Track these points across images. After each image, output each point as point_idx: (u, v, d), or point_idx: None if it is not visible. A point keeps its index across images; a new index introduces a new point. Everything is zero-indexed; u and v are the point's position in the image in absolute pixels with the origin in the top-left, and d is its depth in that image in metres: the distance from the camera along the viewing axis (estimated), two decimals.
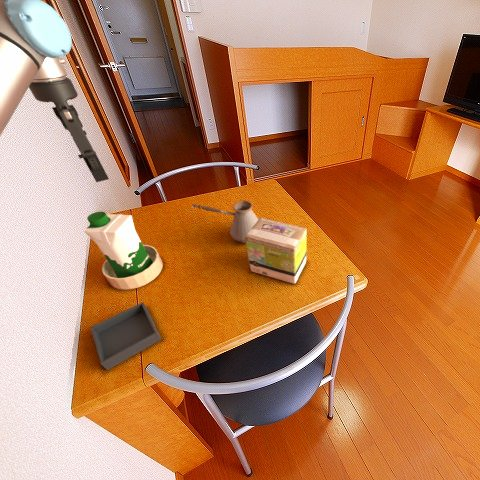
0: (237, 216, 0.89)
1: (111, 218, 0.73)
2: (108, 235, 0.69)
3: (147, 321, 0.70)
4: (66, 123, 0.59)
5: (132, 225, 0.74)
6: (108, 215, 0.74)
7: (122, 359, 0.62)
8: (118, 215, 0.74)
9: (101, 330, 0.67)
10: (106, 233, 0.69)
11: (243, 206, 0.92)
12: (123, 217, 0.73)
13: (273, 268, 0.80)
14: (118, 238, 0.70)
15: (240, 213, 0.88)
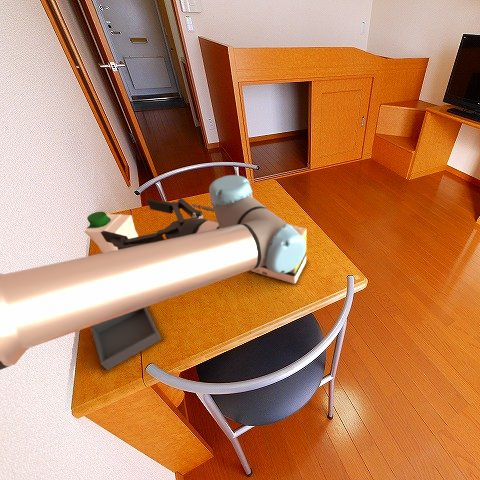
0: None
1: (111, 218, 0.73)
2: None
3: (147, 321, 0.70)
4: None
5: (132, 225, 0.74)
6: (108, 215, 0.74)
7: (122, 359, 0.62)
8: (118, 215, 0.74)
9: (101, 330, 0.67)
10: None
11: None
12: (123, 217, 0.73)
13: None
14: None
15: None
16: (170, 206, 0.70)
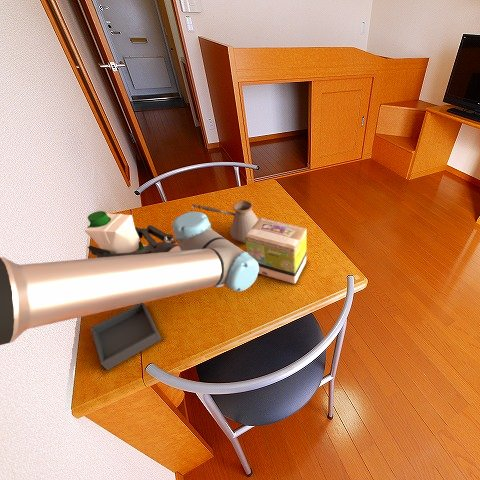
0: (237, 216, 0.89)
1: (111, 218, 0.73)
2: (108, 235, 0.69)
3: (147, 321, 0.70)
4: None
5: (132, 225, 0.74)
6: (108, 215, 0.74)
7: (122, 359, 0.62)
8: (118, 215, 0.74)
9: (101, 330, 0.67)
10: (106, 232, 0.69)
11: (243, 206, 0.92)
12: (123, 217, 0.73)
13: (273, 268, 0.80)
14: (118, 237, 0.70)
15: (240, 213, 0.88)
16: (139, 232, 0.79)
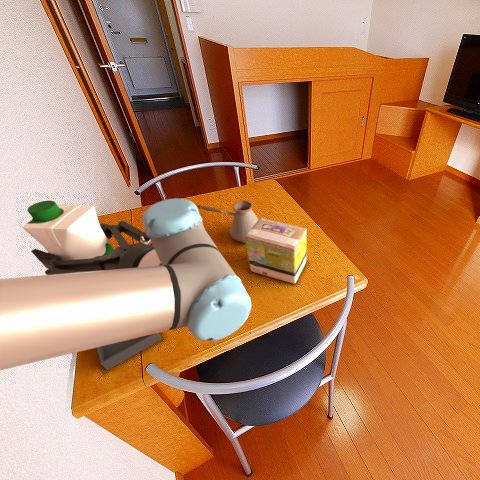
0: (237, 216, 0.89)
1: (64, 210, 0.52)
2: (57, 234, 0.49)
3: None
4: None
5: (95, 220, 0.54)
6: (61, 206, 0.53)
7: (122, 359, 0.62)
8: (75, 206, 0.53)
9: None
10: (53, 230, 0.48)
11: (243, 206, 0.92)
12: (82, 209, 0.53)
13: (273, 268, 0.80)
14: (72, 237, 0.50)
15: (240, 213, 0.88)
16: (107, 230, 0.58)
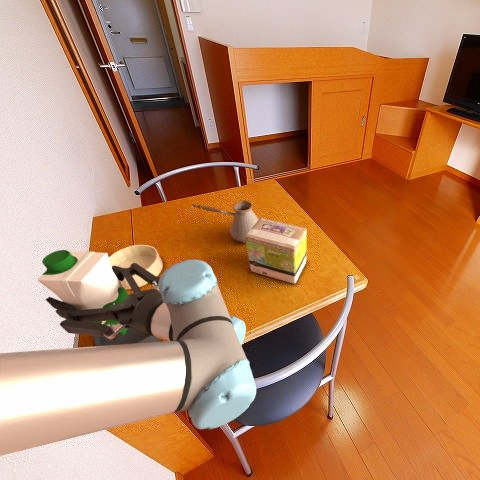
0: (237, 216, 0.89)
1: (78, 258, 0.53)
2: (72, 285, 0.49)
3: None
4: (97, 330, 0.48)
5: (108, 266, 0.54)
6: (75, 253, 0.53)
7: None
8: (89, 253, 0.53)
9: None
10: (68, 282, 0.49)
11: (243, 206, 0.92)
12: (95, 256, 0.53)
13: (273, 268, 0.80)
14: (86, 288, 0.50)
15: (240, 213, 0.88)
16: (120, 273, 0.58)
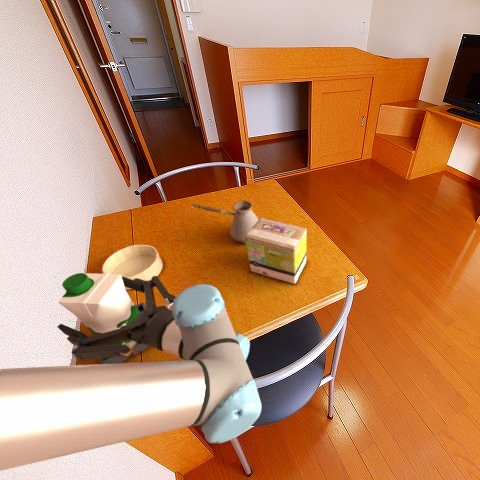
0: (237, 216, 0.89)
1: (94, 280, 0.56)
2: (89, 307, 0.53)
3: None
4: (113, 350, 0.51)
5: (122, 287, 0.58)
6: (91, 275, 0.57)
7: (122, 359, 0.62)
8: (104, 275, 0.57)
9: None
10: (86, 304, 0.53)
11: (243, 206, 0.92)
12: (110, 278, 0.57)
13: (273, 268, 0.80)
14: (103, 309, 0.54)
15: (240, 213, 0.88)
16: (142, 285, 0.63)
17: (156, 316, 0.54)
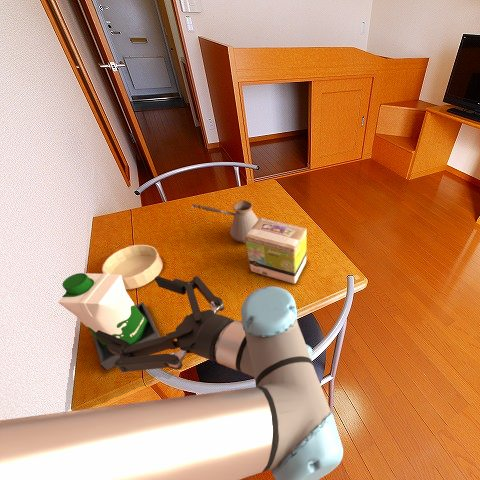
0: (237, 216, 0.89)
1: (94, 280, 0.56)
2: (89, 307, 0.53)
3: None
4: (161, 361, 0.45)
5: (122, 287, 0.58)
6: (91, 275, 0.57)
7: None
8: (104, 275, 0.57)
9: None
10: (86, 304, 0.53)
11: (243, 206, 0.92)
12: (110, 278, 0.57)
13: (273, 268, 0.80)
14: (103, 309, 0.54)
15: (240, 213, 0.88)
16: (183, 287, 0.57)
17: (207, 322, 0.47)
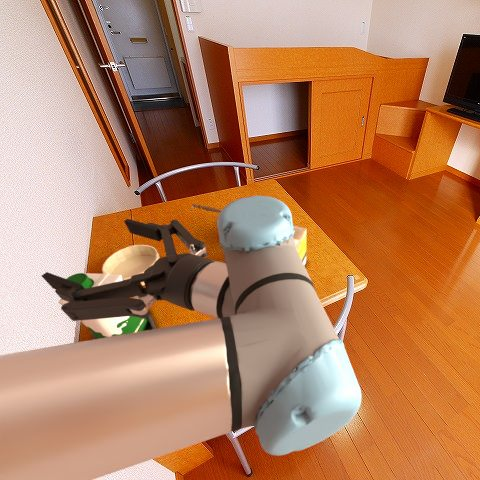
0: None
1: (94, 280, 0.56)
2: None
3: None
4: (122, 306, 0.35)
5: None
6: (91, 275, 0.57)
7: None
8: (104, 275, 0.57)
9: None
10: None
11: None
12: (110, 278, 0.57)
13: None
14: None
15: None
16: (158, 231, 0.47)
17: (182, 260, 0.38)
